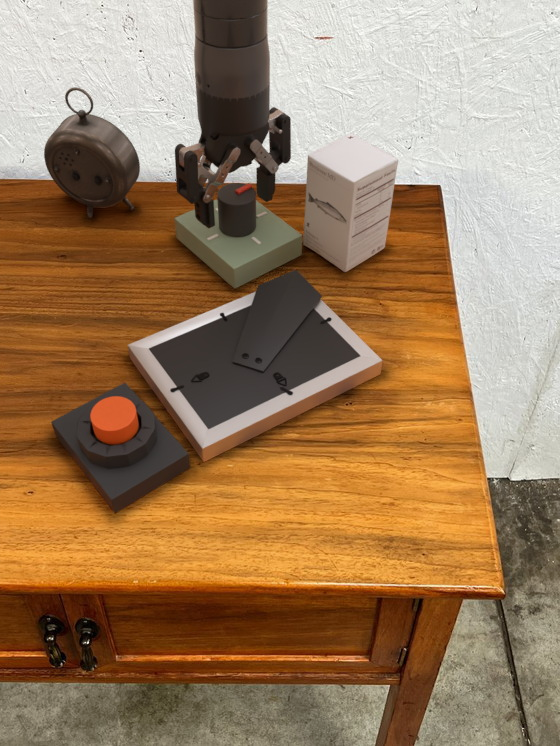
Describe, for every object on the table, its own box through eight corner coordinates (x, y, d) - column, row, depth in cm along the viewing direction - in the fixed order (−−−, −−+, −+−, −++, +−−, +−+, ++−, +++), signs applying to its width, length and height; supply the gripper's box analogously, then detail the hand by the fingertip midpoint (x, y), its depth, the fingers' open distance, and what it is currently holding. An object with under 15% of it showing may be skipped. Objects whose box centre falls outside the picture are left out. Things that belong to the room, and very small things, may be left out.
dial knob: (236, 242, 89) (234, 207, 86) (211, 225, 91) (209, 190, 88) (263, 226, 91) (263, 191, 88) (239, 210, 94) (237, 175, 90)
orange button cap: (85, 424, 70) (81, 410, 69) (124, 403, 72) (121, 389, 70) (108, 452, 68) (104, 438, 67) (147, 430, 70) (144, 416, 68)
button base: (55, 436, 74) (46, 409, 71) (128, 396, 77) (122, 369, 74) (115, 513, 68) (108, 488, 65) (190, 467, 72) (187, 441, 69)
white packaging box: (300, 245, 94) (304, 153, 85) (343, 221, 97) (352, 130, 88) (344, 275, 90) (353, 182, 81) (387, 249, 94) (400, 156, 84)
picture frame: (295, 288, 89) (130, 358, 81) (296, 269, 86) (126, 339, 79) (380, 374, 80) (203, 462, 72) (383, 355, 78) (201, 443, 70)
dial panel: (176, 238, 95) (173, 216, 92) (241, 208, 99) (241, 187, 97) (234, 289, 88) (233, 267, 86) (301, 255, 93) (302, 233, 90)
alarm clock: (147, 204, 99) (130, 84, 87) (129, 229, 96) (109, 107, 84) (70, 189, 101) (44, 69, 89) (49, 212, 98) (19, 91, 86)
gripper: (195, 114, 73) (205, 250, 85) (310, 71, 79) (304, 203, 91) (152, 83, 77) (167, 218, 89) (264, 44, 83) (264, 175, 95)
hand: (236, 210), depth 90 cm, fingers open, 8 cm apart
